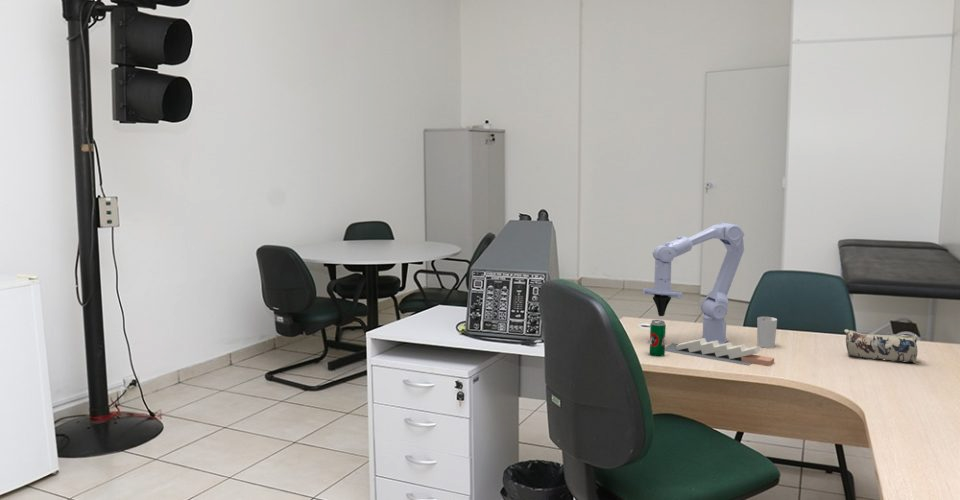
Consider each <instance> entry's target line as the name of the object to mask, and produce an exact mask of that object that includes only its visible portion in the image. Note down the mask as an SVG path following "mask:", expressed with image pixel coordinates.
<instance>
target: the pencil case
mask: <svg viewBox="0 0 960 500" xmlns="http://www.w3.org/2000/svg"><path fill="white" fill-rule="evenodd" d="M843 332H844V333H845V335H846V336H845V346H846V352H847V355H848V356H852V357H857V358H862V357H863V359H869V358H874V359H873V360H878V359H885V360H884V361H886V360H895V361H894V362H900V361H906V362H905V363H908V362H913V363H912V364H916V363H917V358H918V352H919V351H918V345H917V338H918V336H917V334H914V336H913V335H909V334H908V335H905V334H901V335H891V334H890V335H889V334H883V335H882V334H869V333H868V334H865V333H860V332H857V331H855V330H849V329H844V331H843Z"/></svg>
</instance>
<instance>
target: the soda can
mask: <svg viewBox="0 0 960 500" xmlns="http://www.w3.org/2000/svg"><path fill="white" fill-rule="evenodd" d="M649 328H650V329H649V355H650V356H653V357H664V356H665V355H666V354H665V352H666V351H665V347H666V323H665V321H664V320H661V319H654V320H651V321H650V326H649Z"/></svg>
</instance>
